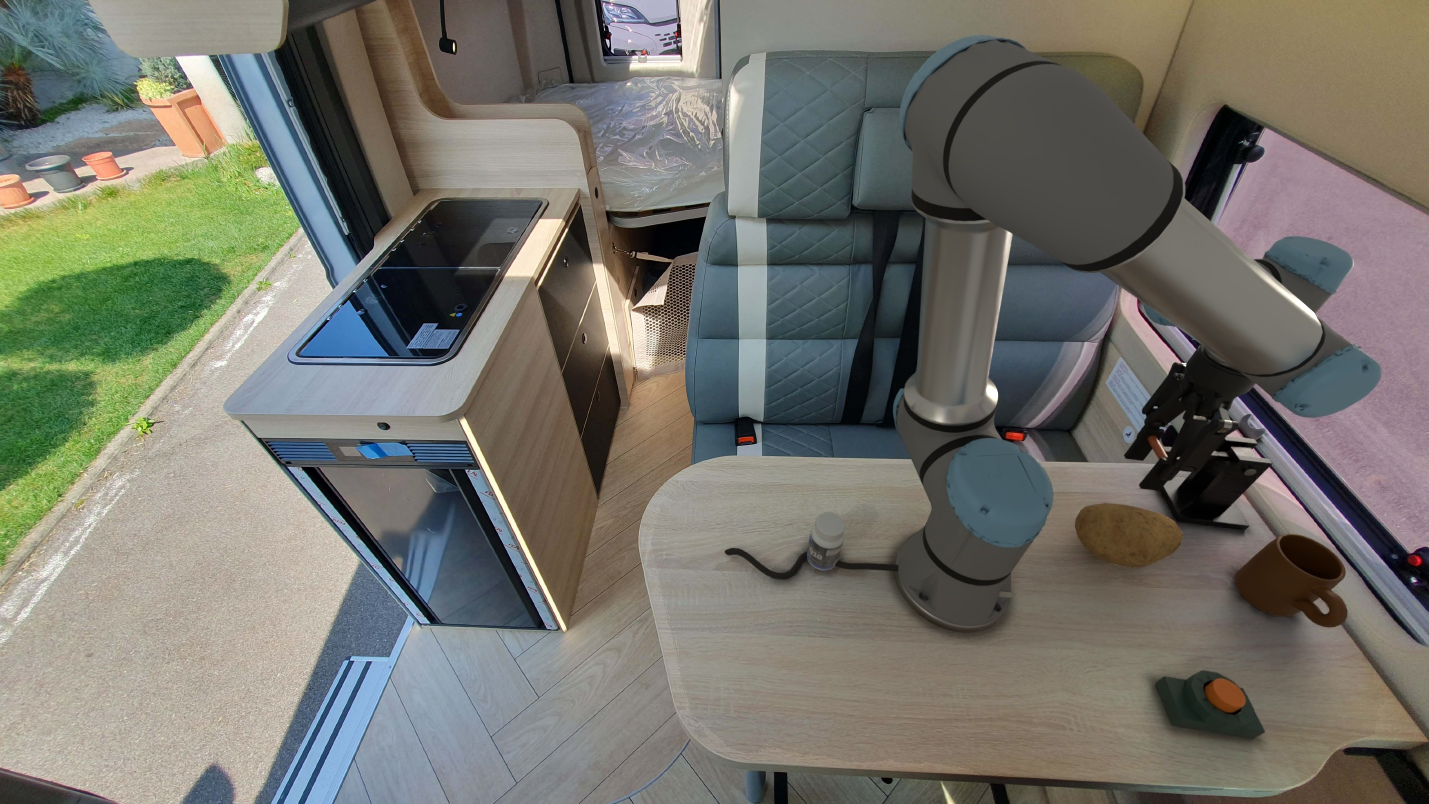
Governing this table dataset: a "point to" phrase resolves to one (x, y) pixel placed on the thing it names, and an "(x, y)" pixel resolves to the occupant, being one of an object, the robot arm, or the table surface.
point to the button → (1225, 695)
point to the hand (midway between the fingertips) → (1141, 472)
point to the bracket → (1215, 488)
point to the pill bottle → (826, 541)
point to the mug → (1294, 580)
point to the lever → (1216, 455)
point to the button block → (1205, 707)
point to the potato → (1127, 534)
